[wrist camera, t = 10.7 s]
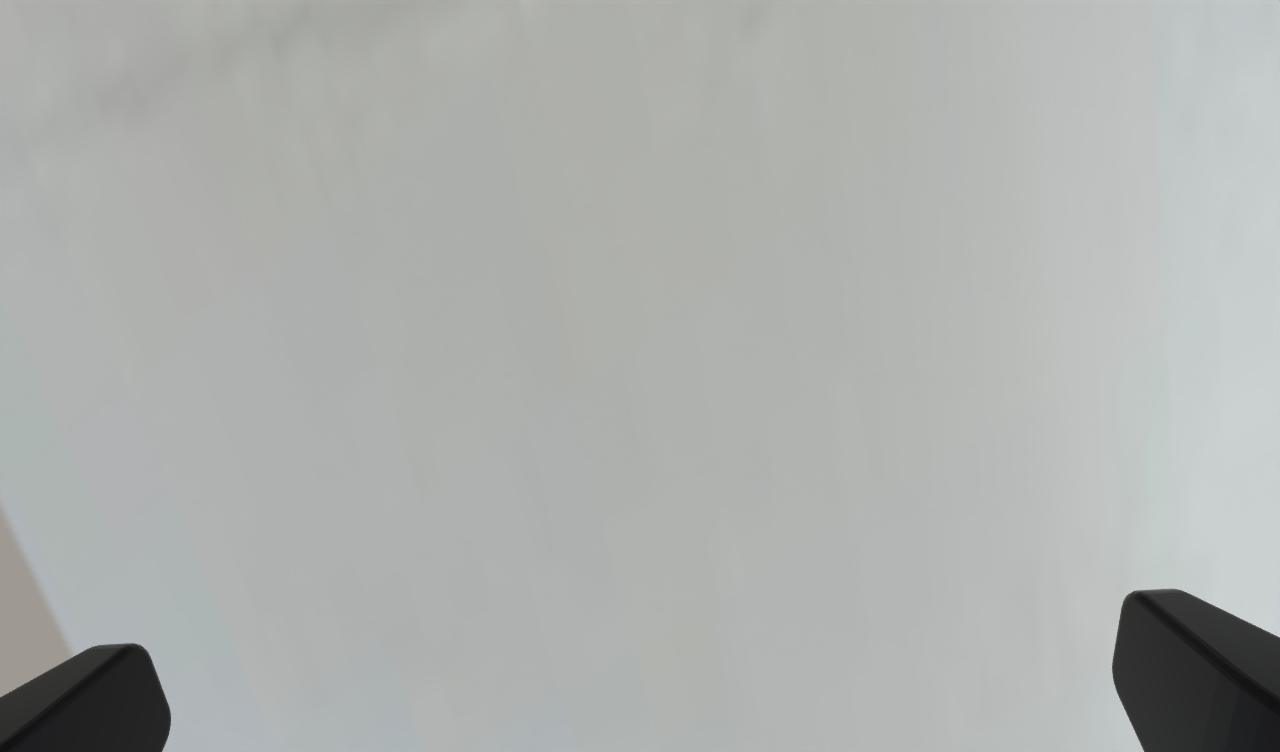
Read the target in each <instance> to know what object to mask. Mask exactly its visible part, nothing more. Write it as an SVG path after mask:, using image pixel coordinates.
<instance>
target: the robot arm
mask: <svg viewBox="0 0 1280 752" xmlns="http://www.w3.org/2000/svg"><path fill="white" fill-rule="evenodd" d="M1112 672H1113V679H1114V684H1115V687H1116V691H1117V693H1118V696H1119V698H1120V700H1121V702H1122V704H1123V706H1124V709H1125V711H1126V713H1127V715H1128V717H1129V720H1130V722H1131V724H1132V726H1133V728H1134V730H1135V733H1136V735H1137V737H1138V739H1139V741H1140V743H1141V746H1142V748H1143V750H1144V752H1280V637H1277V636H1275V635H1273V634H1271V633H1269V632H1267V631H1265V630H1263V629H1261V628H1259V627H1257V626H1255V625H1253V624H1251V623H1249V622H1246V621H1244V620H1242V619H1240V618H1238V617H1236V616H1234V615H1232V614H1230V613H1228V612H1226V611H1224V610H1222V609H1220V608H1218V607H1215V606H1213V605H1211V604H1209V603H1207V602H1205V601H1203V600H1201V599H1199V598H1197V597H1195V596H1193V595H1191V594H1189V593H1187V592H1184V591H1182V590H1177V589H1157V590H1139V591H1133V592H1132V593H1130V594H1128V595H1127V596H1126V598H1125V599H1124V601H1123V605H1122V608H1121V614H1120V620H1119V626H1118V632H1117V638H1116V644H1115V650H1114V656H1113V663H1112ZM170 725H171V714H170V708H169V705H168V702H167V700H166V697H165V694H164V692H163V689H162V686H161V684H160V681H159V678H158V676H157V673H156V670H155V668H154V665H153V662H152V660H151V657H150V655H149V653H148V651H147V650H146V649H145V648H143V647H142V646H141V645H138V644H134V643H129V644H109V645H98V646H94V647H91V648H89V649H87V650H85V651H83V652H81V653H80V654H78V655H76V656H74V657H72V658H71V659H69V660H67V661H65V662H63V663H62V664H60V665H58V666H56V667H54V668H53V669H51V670H49V671H47V672H45V673H44V674H42V675H40V676H38V677H36V678H35V679H33V680H31V681H29V682H28V683H26V684H24V685H22V686H20V687H18V688H17V689H15V690H13V691H11V692H9V693H8V694H6V695H4V696H2V697H0V752H162V751H163V748H164V746H165V744H166V741H167V738H168V735H169V731H170Z"/></svg>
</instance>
